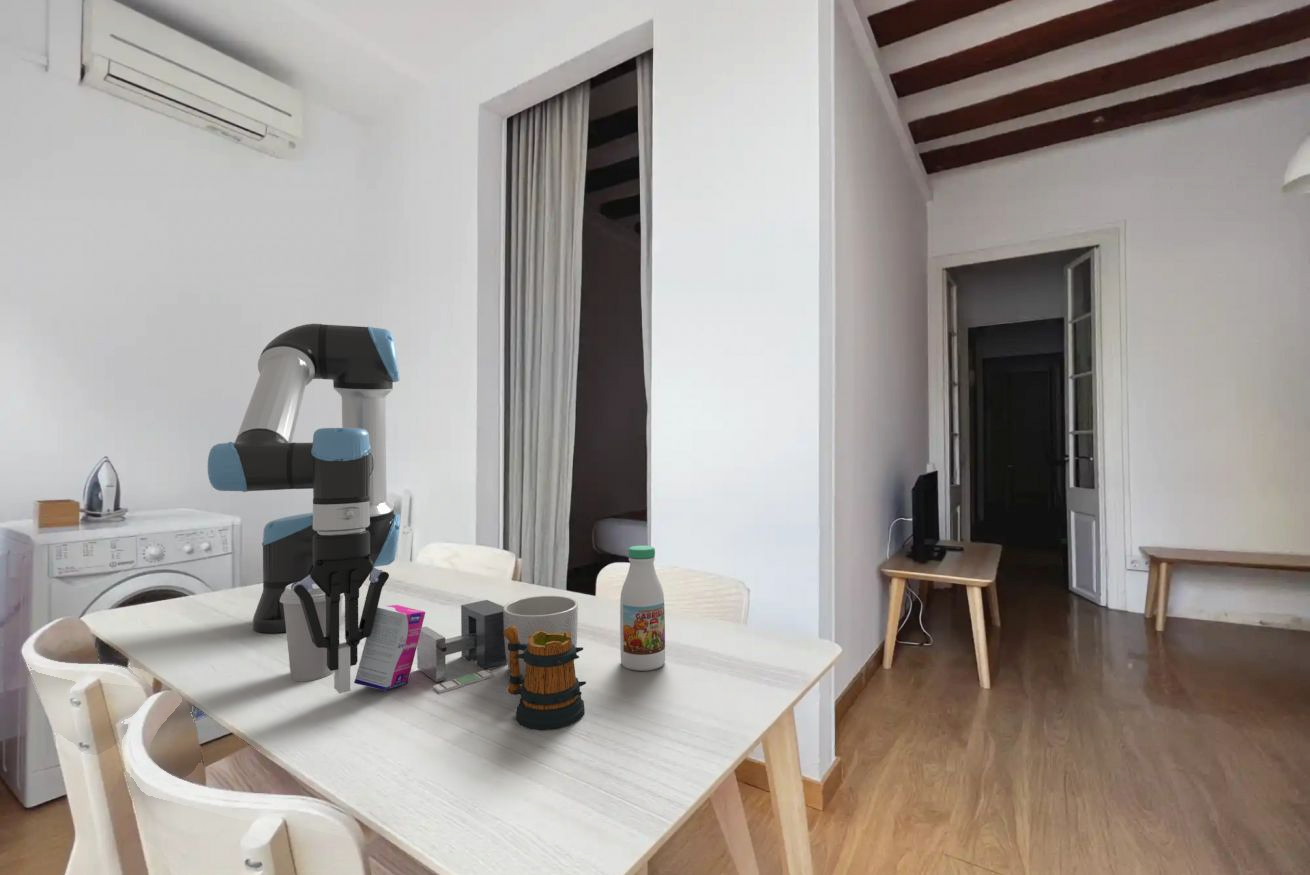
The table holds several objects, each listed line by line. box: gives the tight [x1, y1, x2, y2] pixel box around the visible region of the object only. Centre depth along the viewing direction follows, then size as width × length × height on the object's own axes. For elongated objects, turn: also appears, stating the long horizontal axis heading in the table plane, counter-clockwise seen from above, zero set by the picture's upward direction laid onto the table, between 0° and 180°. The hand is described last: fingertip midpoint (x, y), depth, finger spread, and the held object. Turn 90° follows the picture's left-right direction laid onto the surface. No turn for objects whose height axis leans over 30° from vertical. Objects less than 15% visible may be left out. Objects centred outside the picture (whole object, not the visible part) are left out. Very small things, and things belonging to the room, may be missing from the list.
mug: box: [503, 625, 587, 732], centre depth 80 cm, size 13×10×12 cm
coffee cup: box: [280, 582, 344, 682], centre depth 95 cm, size 10×10×15 cm
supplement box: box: [353, 604, 426, 692], centre depth 89 cm, size 6×6×12 cm
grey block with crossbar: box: [416, 626, 477, 683], centre depth 96 cm, size 10×12×7 cm
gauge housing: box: [460, 599, 508, 671], centre depth 100 cm, size 9×5×9 cm, turn 43°
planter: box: [503, 595, 579, 678], centre depth 95 cm, size 12×12×11 cm
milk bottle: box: [619, 545, 666, 672], centre depth 97 cm, size 8×8×20 cm
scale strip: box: [432, 669, 495, 694], centre depth 90 cm, size 2×9×1 cm, turn 133°
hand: (342, 689), depth 84 cm, fingers closed
